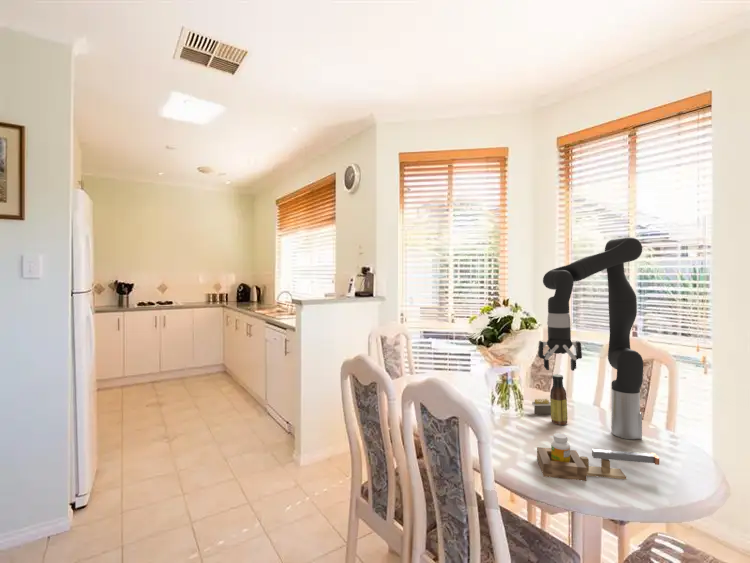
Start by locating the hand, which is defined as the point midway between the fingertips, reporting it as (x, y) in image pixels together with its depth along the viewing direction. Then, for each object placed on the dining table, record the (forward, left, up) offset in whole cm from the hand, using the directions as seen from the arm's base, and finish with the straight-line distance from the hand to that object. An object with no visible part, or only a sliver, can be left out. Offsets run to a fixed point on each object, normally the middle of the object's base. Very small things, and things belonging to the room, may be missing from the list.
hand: (560, 369), depth 145 cm
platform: (+1, -33, -28) cm, 43 cm away
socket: (+4, +20, -27) cm, 34 cm away
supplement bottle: (+4, +20, -26) cm, 33 cm away
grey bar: (-14, +20, -22) cm, 33 cm away
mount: (-8, +20, -27) cm, 35 cm away
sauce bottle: (-4, -22, -27) cm, 35 cm away
